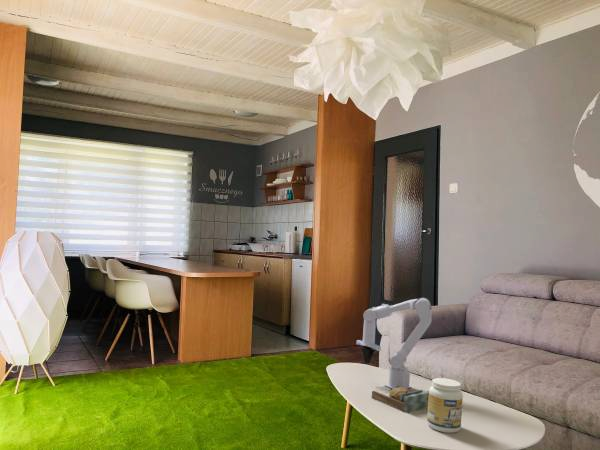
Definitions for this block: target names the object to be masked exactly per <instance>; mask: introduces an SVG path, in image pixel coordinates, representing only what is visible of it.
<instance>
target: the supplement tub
mask: <svg viewBox="0 0 600 450" xmlns="http://www.w3.org/2000/svg"><path fill="white" fill-rule="evenodd" d="M428 391H429V399H428V407H427V415H426V417H427V419H426V422H427V425H428V426H429V427H430V428H431V429H433V430H436V431H438V432H442V433H446V434H447V433H448V434H455V433H458V432H459V431H460V430H461V429H462V428H461V427H462V413H463V412H462V411H463V398H464V396H463V395H464V394H463V393H462V386H461V383H460V382H459V381H457V380H454V379H451V378H450V379H449V378H444V377H437V378H433V379H432V380H431V386H430V387H429V389H428Z"/></svg>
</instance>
